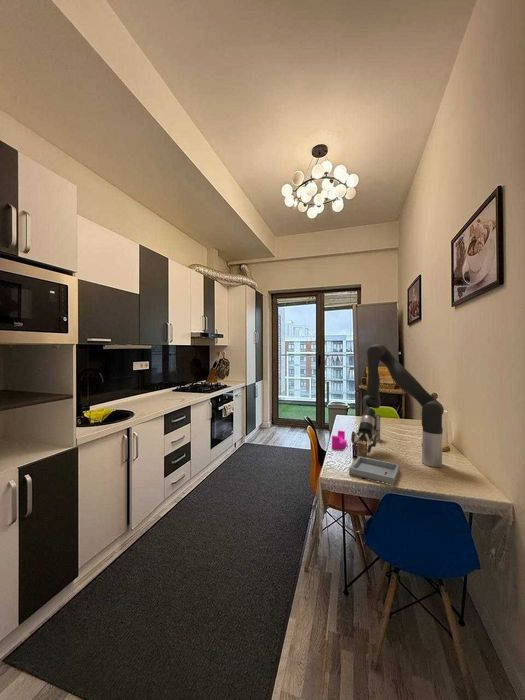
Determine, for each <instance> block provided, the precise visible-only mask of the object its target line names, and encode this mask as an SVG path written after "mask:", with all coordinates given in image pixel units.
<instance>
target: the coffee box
mask: <svg viewBox="0 0 525 700" xmlns="http://www.w3.org/2000/svg"><path fill="white" fill-rule="evenodd" d="M372 435H374V436H375V435H377V438H378V439H377V440H378V441H379V439H380V440H381V415H380V414H375V419H374V427H373V432H372ZM370 441H373V438H371V439H370Z"/></svg>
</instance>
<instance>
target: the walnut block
mask: <svg viewBox="0 0 525 700" xmlns="http://www.w3.org/2000/svg"><path fill="white" fill-rule="evenodd" d="M367 449H368V441H367V442H365V441H358V442H357V447H356V459H357V458H358V456H361V457H366V458H368V452H367Z"/></svg>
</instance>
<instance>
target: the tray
mask: <svg viewBox="0 0 525 700" xmlns="http://www.w3.org/2000/svg"><path fill="white" fill-rule="evenodd" d="M400 467H401V465H400V464H398V463H395V462H394V463H393V462H388V461H383V460H380V459H374V458H370V457H367V458H366V457H361V456H358V458H357V457H356V459H355V461H353V463H352V464H351V465H350V466H349V468H348V470H349V471H348V476H351V477H355V476H356V477H355V478H359V477H360V479H363V478H365V479H364V480H367V479H370V480H369V481H371V480H374V481H373V482H375V481H379V482H384V483H388V484H391V485H394V484H395V485H396V483H397V480H398V477H399V475H400V469H401V468H400ZM385 472H387V474H386V475H384V473H385ZM398 474H399V475H398ZM396 479H397V480H396ZM379 482H378V483H379ZM395 482H396V483H395ZM391 485H390V486H391ZM395 485H394V486H395Z"/></svg>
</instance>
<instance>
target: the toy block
mask: <svg viewBox="0 0 525 700" xmlns="http://www.w3.org/2000/svg"><path fill="white" fill-rule="evenodd" d="M345 435H346V434H345V430H341V429H340V430H338V431H337V435H332V436H331V450H332V449H334V450H339V451H343V450H344V449H345V448H346V447H347V446H348V445H347V444H348V443H347V442H348V441H347V439H345V437H346V436H345Z"/></svg>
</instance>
